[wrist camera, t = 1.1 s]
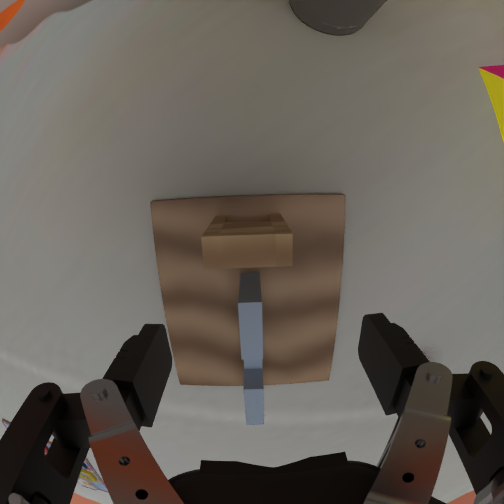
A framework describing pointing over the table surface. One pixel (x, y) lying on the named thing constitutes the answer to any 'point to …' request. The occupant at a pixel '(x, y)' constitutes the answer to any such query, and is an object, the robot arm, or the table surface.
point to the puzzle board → (87, 473)
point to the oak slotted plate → (247, 243)
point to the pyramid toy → (495, 91)
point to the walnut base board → (272, 288)
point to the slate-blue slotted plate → (252, 345)
